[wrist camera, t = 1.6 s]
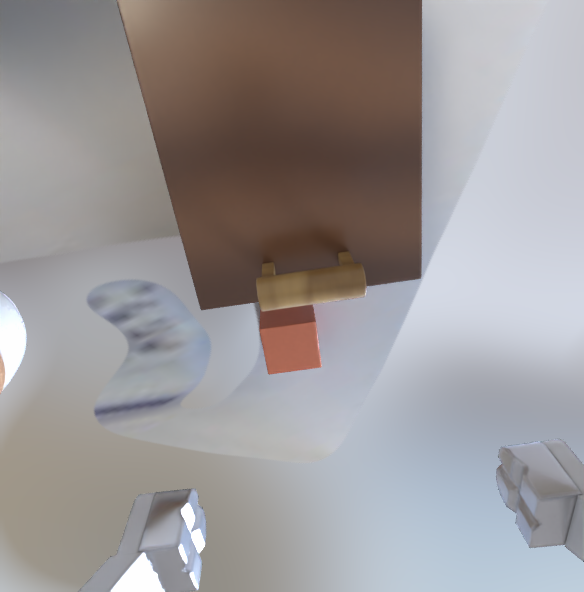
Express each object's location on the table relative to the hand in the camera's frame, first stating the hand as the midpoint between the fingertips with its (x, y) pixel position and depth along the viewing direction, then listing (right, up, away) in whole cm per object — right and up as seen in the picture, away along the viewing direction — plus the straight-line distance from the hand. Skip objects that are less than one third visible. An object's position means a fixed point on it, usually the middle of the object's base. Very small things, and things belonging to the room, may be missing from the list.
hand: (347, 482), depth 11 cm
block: (-2, +3, +27) cm, 27 cm away
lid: (-2, +13, +12) cm, 17 cm away
